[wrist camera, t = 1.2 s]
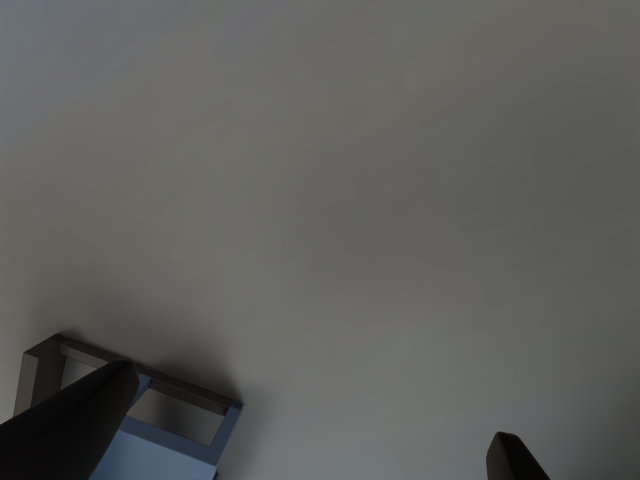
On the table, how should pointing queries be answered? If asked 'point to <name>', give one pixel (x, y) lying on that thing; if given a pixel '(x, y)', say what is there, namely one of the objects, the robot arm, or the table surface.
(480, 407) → the table surface
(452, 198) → the table surface
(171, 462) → the chair
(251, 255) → the table surface
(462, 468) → the table surface
